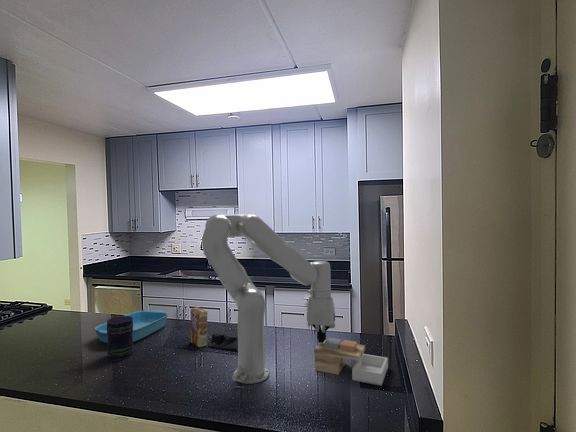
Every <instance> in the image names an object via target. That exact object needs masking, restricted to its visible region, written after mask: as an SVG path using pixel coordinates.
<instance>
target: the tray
mask: <svg viewBox="0 0 576 432" xmlns="http://www.w3.org/2000/svg"><path fill="white" fill-rule="evenodd" d="M388 361H389V358H388V357H387V356H379V355H373V354H367V353H363V354H362V356H361V358H360V360H359V361H357V360H355V363H354V365H353V367H352V368H351V372H352V373H351V377H352V378H351V379H352V381H355V382H358V383H359V382H361V383H366V384H370V385H376V386H383V383H384V380H385V378H386V375H387V372H388V368H389V366H388V365H389V364H388V363H389V362H388Z"/></svg>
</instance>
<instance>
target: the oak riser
mask: <svg viewBox="0 0 576 432" xmlns="http://www.w3.org/2000/svg"><path fill="white" fill-rule="evenodd" d="M327 339H328V338H326V340H327ZM326 340H325V341H326ZM325 341H324V342H323V343H321V342H320V343H318V344H317V345H316V347H315V348H314V350H313V351H314V353H313V354H314V371H319V372H322V373H328V374H333V375H340V374H341V372H342V370H343V369H344V367H345V366H346V364H347V363H346V360H350V361H351V360H352V361H359V360H360V358H361V356H362V354H365V351H366V344H359V343H357V348H356V349H355V351H354V352H349V351H343V350H340V347H339V348H338V350H337V349H331V348H325ZM342 342H343V341H341V343H342Z"/></svg>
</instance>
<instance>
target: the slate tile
mask: <svg viewBox="0 0 576 432" xmlns="http://www.w3.org/2000/svg"><path fill="white" fill-rule="evenodd" d="M326 339H327V340H326V341H325V348H331V349H337V350H338V348H339V347H340V344H341V342H342V339H340V338H334V337H333V338H332V337H328V338H326Z"/></svg>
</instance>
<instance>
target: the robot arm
mask: <svg viewBox="0 0 576 432" xmlns="http://www.w3.org/2000/svg"><path fill="white" fill-rule="evenodd" d="M204 224H205V226H204V227H205V229H204V230H203V233H202V238H201V246H202V250H203V254H204V256H205V258H206V259H207V261H208V262H209V265H210V266H211V267H212V268H213V270H214V271H215V273H216V275H217V276H218V280H219V281H220V282H221V285H223V287H224V288H225V289H226V291H227V292H228V294H229V295H230V297H231V298H232V299H233V302H235V304H236V306H237V328H236V329H237V336H238V351H237V367H236V368H237V369H235V371H234V372H233V374H232V376H231V380H232V381H233V382H238V383H241V384H245V385H247V384H248V385H250V384H251V385H254V384H258V383H261V382H264V381H265V380H267V379H268V378H269V375H270V371H269V369H268V368H267V367H266V366H265V364H266V362H265V360H266V359H265V357H266V356H265V315H266V314H265V313H266V300H265V299H266V298H265V297H264V295H263V293H262V291H260V290H259V288H257V286H255V284H254V283H253V281H252V280H251V278H250V276H249V275H248V274H247V271H246V269H245V267H244V266H243V265H242V264H241V263H240V261H239V260H238V259H237V257H236V256H235V254H234V253H233V251H232V249H231V248H230V246H229V242H228V238H239V237H240V238H241V237H245V238H246V239H248V241H249V242H250V243H251V244H253V245H254V246H255V247H256V248H257V249H258V250H259V251H260V252H262V253H263V254H264V255H265V257H267V258H269V260H271V261H272V262H275V263H276V264H278V265H279V266H280V267H282V268H283V269H285V270H286V271H287V272H288V273H289V275H290V277H291V278H292V279H293V280H295V281H296V282H298V283H299V284H301V285H304V286H310V289H308V290H307V294H309V295H310V296H309V297H308V300H307V301H308V302H307V309H306V322H307V325H308V326H310V327H313V328H314V329H315V332H316V334H317V335H316V337H317V338H316V339H317V341H318V344H320V343H323V342H324V341H325V340H326V339H327V331H328V330H329V329H335V327H336V323H335V321H336V312H335V303H334V299H333V296H332V288H331V277H332V276H331V264H330V262H328V261H327V260H326V261H324V260H316V261H315V260H314V261H309V260H308V259H306V258H305V257H304V256H303V255H302V254H301V253H300V252H299V251H297V249H295V248H293V247H292V246H291V245H290V243H288V242H287V241H286V240H284V238H282V237H281V236H280V235H279V234H278V233H276V232H275V230H273V229H272V228H271V226H269V225H268V224H267V223H266V222H265V221H263V219H261V218H260V217H259V216H258V215H256V214H253V213H252V214H250V213H249V214H213V215H211V216H209V217H208V218H207V220H206V221H205V223H204Z"/></svg>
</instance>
